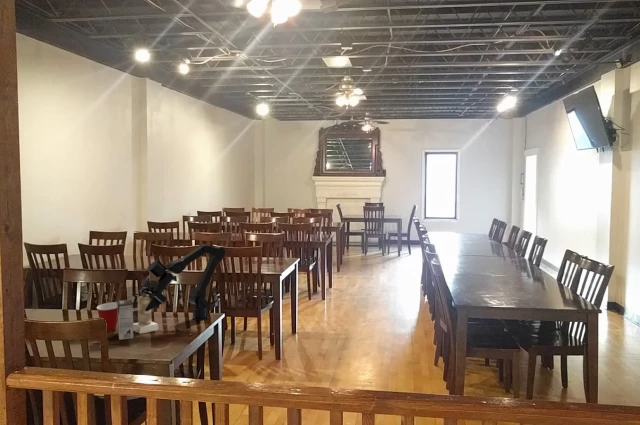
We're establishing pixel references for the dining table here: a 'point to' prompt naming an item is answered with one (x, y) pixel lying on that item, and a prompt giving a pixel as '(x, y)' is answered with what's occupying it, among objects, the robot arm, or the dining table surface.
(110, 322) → the plastic cup
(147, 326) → the stand
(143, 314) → the pepper mill
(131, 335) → the coffee box
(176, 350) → the dining table surface
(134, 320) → the box
